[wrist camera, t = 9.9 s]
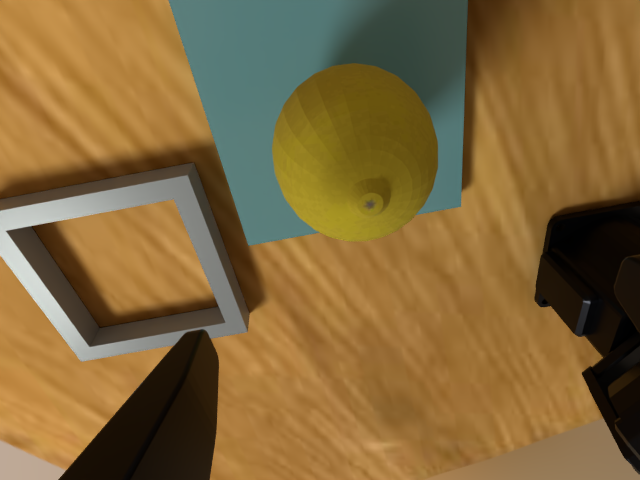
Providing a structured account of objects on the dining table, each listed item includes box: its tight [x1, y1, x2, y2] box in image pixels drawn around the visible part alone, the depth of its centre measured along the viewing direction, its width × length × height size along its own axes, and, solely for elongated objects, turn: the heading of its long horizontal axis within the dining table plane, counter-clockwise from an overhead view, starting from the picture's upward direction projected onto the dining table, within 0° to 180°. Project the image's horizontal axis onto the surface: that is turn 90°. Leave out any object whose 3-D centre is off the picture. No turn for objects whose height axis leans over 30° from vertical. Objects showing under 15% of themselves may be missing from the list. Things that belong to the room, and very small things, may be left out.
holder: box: [0, 163, 249, 362], centre depth 21 cm, size 10×10×2 cm
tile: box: [169, 0, 468, 246], centre depth 18 cm, size 11×11×1 cm
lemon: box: [272, 63, 438, 241], centre depth 14 cm, size 6×6×8 cm
